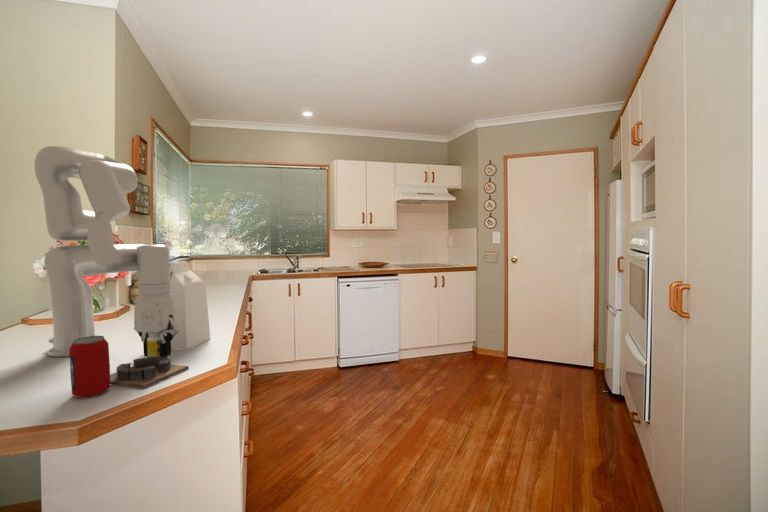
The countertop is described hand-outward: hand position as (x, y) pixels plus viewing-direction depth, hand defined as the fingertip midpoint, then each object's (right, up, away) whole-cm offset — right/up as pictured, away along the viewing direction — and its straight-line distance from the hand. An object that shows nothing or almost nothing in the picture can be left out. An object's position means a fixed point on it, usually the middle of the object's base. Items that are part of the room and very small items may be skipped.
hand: (157, 354), depth 105 cm
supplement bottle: (0, -2, 0) cm, 2 cm away
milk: (-2, -1, +16) cm, 16 cm away
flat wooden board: (+4, -2, -12) cm, 13 cm away
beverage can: (-1, -3, -22) cm, 22 cm away
